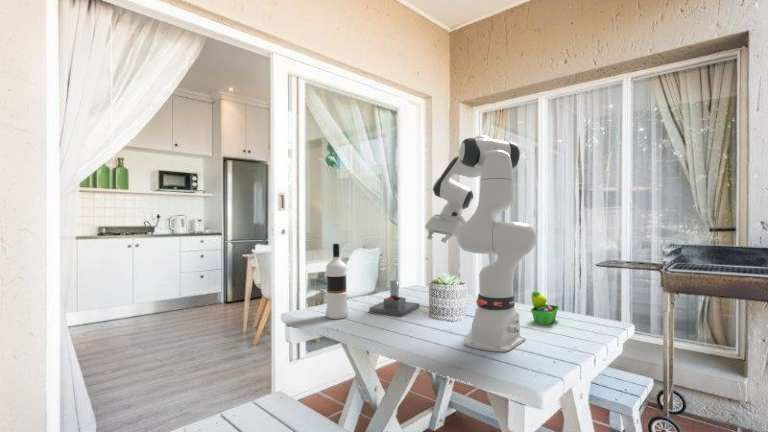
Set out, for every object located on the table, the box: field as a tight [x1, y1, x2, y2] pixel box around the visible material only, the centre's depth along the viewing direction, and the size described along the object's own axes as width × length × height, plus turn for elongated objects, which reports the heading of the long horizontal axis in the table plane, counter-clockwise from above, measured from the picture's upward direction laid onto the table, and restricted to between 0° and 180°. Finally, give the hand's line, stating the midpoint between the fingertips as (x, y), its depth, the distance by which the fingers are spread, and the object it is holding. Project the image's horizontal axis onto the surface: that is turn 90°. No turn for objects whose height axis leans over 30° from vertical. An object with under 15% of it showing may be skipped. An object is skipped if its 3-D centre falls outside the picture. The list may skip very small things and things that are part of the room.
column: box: [389, 279, 400, 300], centre depth 176 cm, size 4×4×10 cm
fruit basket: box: [530, 290, 560, 326], centre depth 156 cm, size 11×9×11 cm
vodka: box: [325, 243, 350, 320], centre depth 166 cm, size 9×9×30 cm
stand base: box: [368, 296, 420, 317], centre depth 176 cm, size 16×16×6 cm
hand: (435, 240), depth 189 cm, fingers open, 8 cm apart
